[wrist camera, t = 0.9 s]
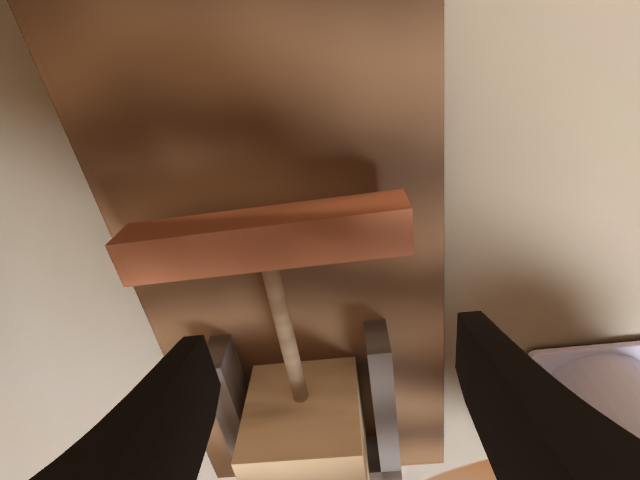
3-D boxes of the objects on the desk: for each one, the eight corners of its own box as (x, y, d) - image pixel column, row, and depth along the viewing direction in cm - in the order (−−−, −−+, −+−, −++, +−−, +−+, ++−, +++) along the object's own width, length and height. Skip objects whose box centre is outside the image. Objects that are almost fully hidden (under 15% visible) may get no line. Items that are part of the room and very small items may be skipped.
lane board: (440, 449, 28) (453, 501, 25) (221, 464, 30) (208, 515, 27) (436, -153, 13) (469, -207, 10) (-4, -66, 15) (-91, -90, 12)
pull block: (411, 421, 26) (433, 525, 20) (229, 435, 27) (204, 537, 21) (398, 176, 18) (426, 240, 13) (141, 209, 19) (68, 281, 14)
